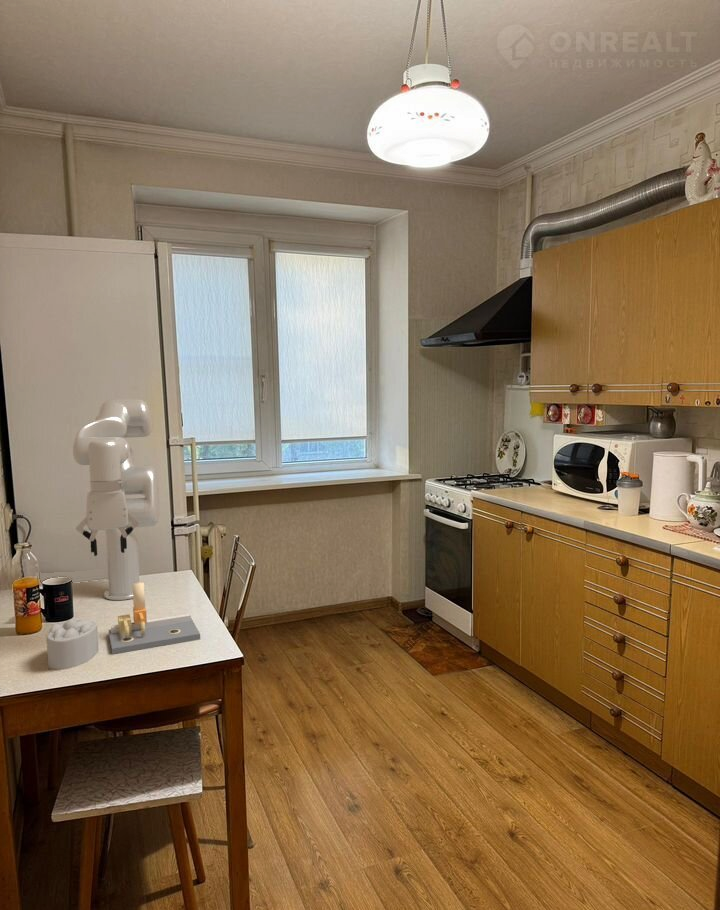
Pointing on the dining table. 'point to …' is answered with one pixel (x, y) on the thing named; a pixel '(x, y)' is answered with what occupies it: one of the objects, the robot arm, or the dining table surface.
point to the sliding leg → (139, 606)
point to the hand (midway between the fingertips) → (109, 552)
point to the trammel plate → (151, 633)
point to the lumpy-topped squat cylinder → (71, 644)
